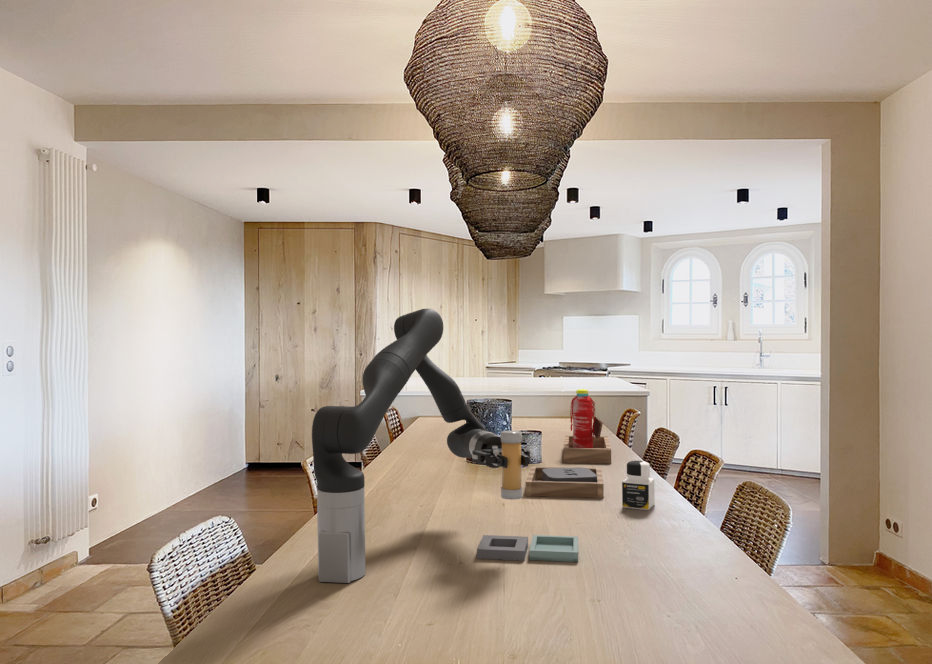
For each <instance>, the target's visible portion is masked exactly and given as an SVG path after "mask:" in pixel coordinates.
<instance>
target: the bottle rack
mask: <svg viewBox="0 0 932 664" xmlns="http://www.w3.org/2000/svg"><path fill="white" fill-rule="evenodd" d="M562 451H563V463H571V464H573V463H574V464H576V463H578V464H579V463H580V464H582V463H583V464H586V463H587V464H612V446H611V443H610V440H609V436H604V435H602V436H601V435H600V438H599V437H598V438H596V437H595V435H594V440H593V448H573V435H565V436H564V443H563V450H562Z"/></svg>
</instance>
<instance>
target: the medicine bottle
mask: <svg viewBox="0 0 932 664" xmlns="http://www.w3.org/2000/svg"><path fill="white" fill-rule="evenodd" d="M650 468H651V465H650V463H649V462H647V461H645V460H630V461H628V462H627V463H626V478H625V479H623V480H622V482H621V490H622V491H621V492H622V493H621V500H622V503H621V504H622V508H625V509H626V508H627V509H633V510H634V509H635V510H644V511H649V510H650V509H652V507H653V506H654V505H655V492H656V491H655V478H653V477H650V476H651V471H650V470H651V469H650Z"/></svg>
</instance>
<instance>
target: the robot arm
mask: <svg viewBox="0 0 932 664" xmlns="http://www.w3.org/2000/svg"><path fill="white" fill-rule="evenodd" d="M443 321H444V320H443V318H442V316H441V315H440V313H439V312H438V311H436V310H435V309H433V308H421V309H417V310H415V311H412V312H409V313H405V314H403V315H400V316H398V317H397V318H396V319H395V321H394V323H393V324H394V325H393V332H394V335H395V339H396V340H395V341H393V342H391V343H390V344H387V346H385V347H384V348H382V349H381V350H380V351H379V352H377V353H376V355H374V357H373V358H372V360H371V361H369V363H368V364H367V366H366V367H365V369H364V370H363V373H362V387H363V391H364V394H365V396H364V398H363V400H362V401H361V402H360V403H358V404H357V405H353V406H349V405H347V406H344V405H325V406H322V407H320V408H318V410H317V411H316V412H315V415H314V417H313V420H312V426H311V442H312V443H311V444H312V457H313V458H312V459H313V460H312V461H313V462H312V463H313V474H314V477H315V481H316V488H317V489H316V492H317V493H316V496H317V497H316V499H317V500H316V501H317V503H316V507H317V510H316V511H317V513H316V514H317V570H318V571H317V575H318V576H317V577H318V582H319V583H320V582H321V583H341V584H349V583H352V582H353V581H356V580H358V579H359V580H360V578H362V577H364V576H365V575H366V570H367V569H366V516H365V515H366V514H365V501H366V500H365V496H366V495H365V483H366V482H365V474H364V472H363V471H362V470H361V469H359V468H357V467H355V466H353V465H351V464H350V463H349V462H348V461H347V460H346V459H345V458H344V456H343V454H345V455H357V454H360V453H362V452H364V451H365V450H366V449H367V448H368V446H369V445H370V443H371V442H372V440H373V439H374V437H375V434H376V433H377V431H378V429H379V428H380V427H379V426H380V425H381V423H382V420H383V419H384V418H385V415H387V412H388V411H389V408H390V407H391V405H392V404H393V403H394V402H395V400H396V398H397V396H398V395H399V394H400V393H401V391H402V390H403V389H404V387H405V386H406V384H407V383H408V382H409V380H410V378H411V377H412V376H413V373H414V372H415V371H416V372H417V374H418V375H419V377H420V378H421V379H422V381H423V382H424V384H425V385H426V387H427V389H428V390H429V392H430V395H431V396H432V398H433V400H434V402H435V404H436V407H437V409H438V411H439V413H440V416H441V417H442V419H443V421H444V422H445V423H448V424H450V423H451V424H453V423H457V422H460V421H464V422H465V423H464V424H462V425H461V426H459V427H457V428H454V429H453V430H451V432H449V433H448V435H447V437H446V444H447V447H448V449H449V451H450V452H451V453H452V454H453V455H455V456H456V457H458V458H463V459H464V458H465V459H468V458H472V461H471V462H472V463H476V464H480V465H483V466H486V467H488V468H491V469H497V468H502V467H503V468H507V467H508V459H507V457H505V456H502V442H501V435H498V434H497V433H494V432H491V431H487V429H486V427H485V426H484V425H483V424H482V422H480V420H479V419H478V418H477V417H476V416H475V414H474V413H473V412H472V411H471V409H470V407H469V406H468V404H467V402H466V400H465V398H464V396H463V393H462V391H461V389H460V387H459V385H458V384H457V383H456V381H455V380H454V379H453V378H452V377H451V376H450V375H448V374H447V373H446V372H445V371H444V370H442V369H441V368H440V367H439V366H437V365H436V364H435V363H434V362H433V361H432V360H431V359H430V357H429V356H428V354H429V353H430V352H431V350H432V349H434V348H435V347H436V345H438V343H439V342H440V340H441V339H442V338H443V333H444V322H443ZM530 463H531V451H530V449H529V447H527V446H522V447H521V466H523V467H529V465H530Z"/></svg>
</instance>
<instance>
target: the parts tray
mask: <svg viewBox="0 0 932 664" xmlns="http://www.w3.org/2000/svg"><path fill="white" fill-rule="evenodd" d="M539 560H543V561H545V562H564V563H565V562H566V563H567V562H569V563H570V562H571V563H579V536H576V535H575V536H573V535H571V536H570V535H548V534H547V535H546V534H544V535H543V534H532V537H531V542H530V547H529V561H539ZM543 561H542V562H543Z"/></svg>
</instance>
